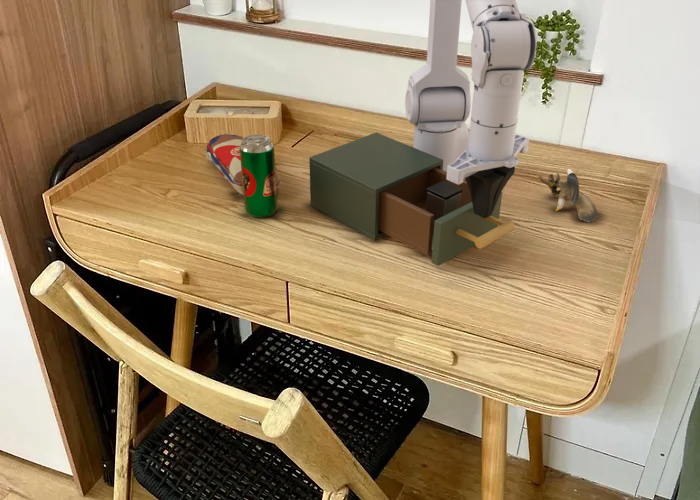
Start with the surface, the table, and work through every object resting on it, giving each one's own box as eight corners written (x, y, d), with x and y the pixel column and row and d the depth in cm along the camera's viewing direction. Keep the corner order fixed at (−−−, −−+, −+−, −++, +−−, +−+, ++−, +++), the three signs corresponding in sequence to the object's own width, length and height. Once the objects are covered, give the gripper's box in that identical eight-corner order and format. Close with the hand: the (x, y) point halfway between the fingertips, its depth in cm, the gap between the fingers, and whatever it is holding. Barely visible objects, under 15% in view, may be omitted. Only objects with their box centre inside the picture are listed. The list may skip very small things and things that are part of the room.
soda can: (272, 220, 108) (267, 148, 102) (240, 217, 109) (234, 145, 103) (281, 205, 113) (277, 134, 106) (251, 202, 113) (245, 131, 107)
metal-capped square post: (439, 220, 105) (443, 180, 102) (458, 229, 103) (462, 189, 99) (423, 228, 103) (426, 188, 99) (442, 237, 101) (445, 197, 97)
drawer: (524, 245, 101) (530, 203, 98) (465, 281, 93) (470, 237, 90) (428, 200, 112) (431, 162, 109) (368, 229, 105) (369, 188, 101)
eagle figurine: (526, 198, 112) (569, 213, 105) (545, 156, 112) (589, 168, 104) (556, 213, 117) (598, 228, 109) (574, 173, 116) (618, 185, 109)
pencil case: (213, 207, 112) (210, 178, 109) (205, 155, 128) (202, 129, 125) (283, 199, 114) (281, 171, 112) (266, 150, 130) (264, 124, 128)
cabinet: (439, 208, 112) (443, 159, 107) (374, 240, 104) (376, 189, 99) (375, 178, 121) (376, 132, 116) (310, 205, 112) (309, 157, 108)
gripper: (483, 144, 82) (472, 244, 89) (554, 113, 90) (538, 207, 98) (437, 127, 86) (429, 224, 94) (508, 98, 95) (496, 189, 102)
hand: (482, 214), depth 96 cm, fingers closed
